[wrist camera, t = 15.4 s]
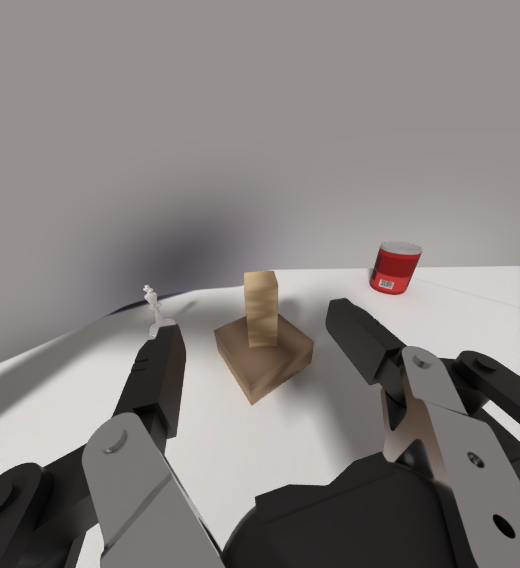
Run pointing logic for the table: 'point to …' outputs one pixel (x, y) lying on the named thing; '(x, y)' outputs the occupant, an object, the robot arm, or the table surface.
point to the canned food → (394, 267)
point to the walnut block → (263, 357)
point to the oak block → (261, 308)
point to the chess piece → (156, 312)
